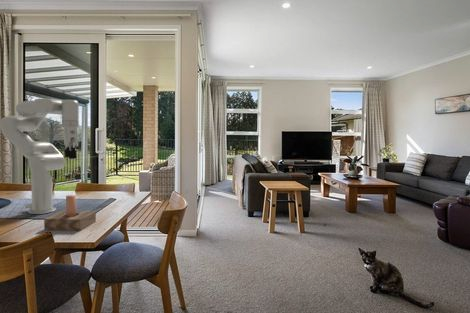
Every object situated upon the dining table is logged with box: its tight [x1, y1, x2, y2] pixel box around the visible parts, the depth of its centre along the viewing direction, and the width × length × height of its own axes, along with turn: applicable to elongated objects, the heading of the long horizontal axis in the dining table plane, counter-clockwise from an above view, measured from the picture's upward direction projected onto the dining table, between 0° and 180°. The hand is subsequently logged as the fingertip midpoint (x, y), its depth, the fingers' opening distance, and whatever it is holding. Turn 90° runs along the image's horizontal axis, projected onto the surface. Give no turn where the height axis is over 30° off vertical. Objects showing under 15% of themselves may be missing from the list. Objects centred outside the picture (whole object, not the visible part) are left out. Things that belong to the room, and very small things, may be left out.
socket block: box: [43, 210, 96, 232], centre depth 135 cm, size 16×14×5 cm
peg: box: [65, 194, 77, 217], centre depth 135 cm, size 4×4×14 cm
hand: (70, 157), depth 149 cm, fingers open, 9 cm apart
